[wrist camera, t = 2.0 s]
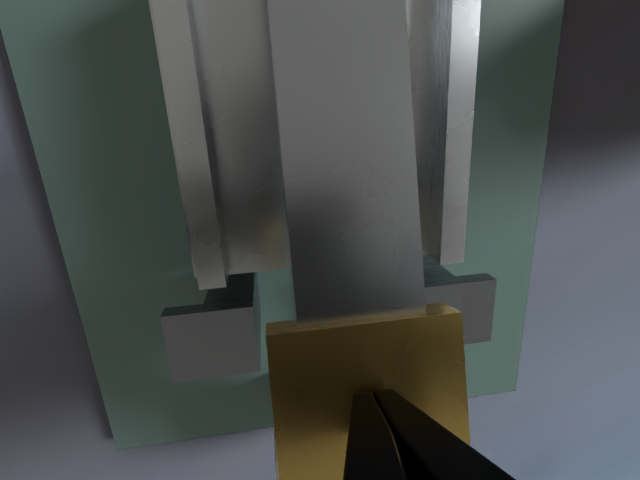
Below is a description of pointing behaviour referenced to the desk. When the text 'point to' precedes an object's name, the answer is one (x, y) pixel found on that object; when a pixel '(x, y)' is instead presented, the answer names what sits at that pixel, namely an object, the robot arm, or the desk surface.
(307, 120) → the gold-ended metal bar
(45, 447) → the desk surface
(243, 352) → the grey rail mechanism
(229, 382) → the board
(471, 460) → the robot arm
